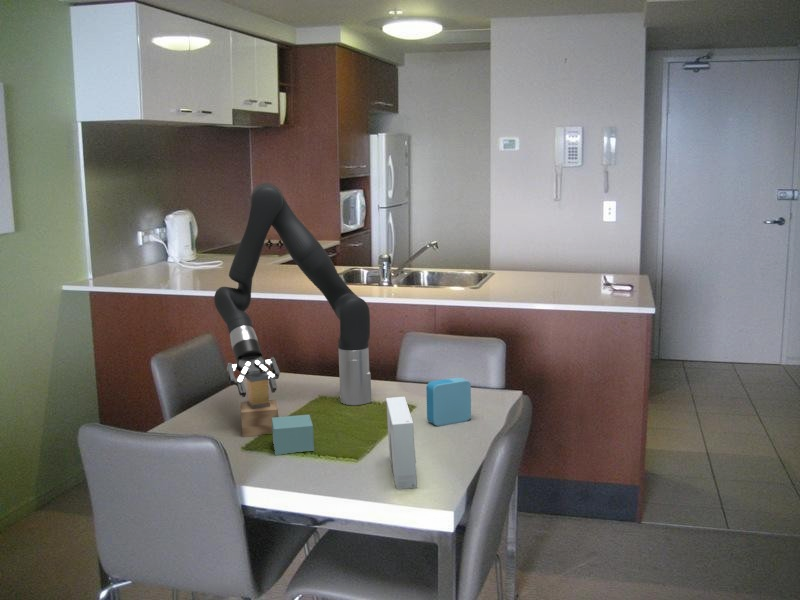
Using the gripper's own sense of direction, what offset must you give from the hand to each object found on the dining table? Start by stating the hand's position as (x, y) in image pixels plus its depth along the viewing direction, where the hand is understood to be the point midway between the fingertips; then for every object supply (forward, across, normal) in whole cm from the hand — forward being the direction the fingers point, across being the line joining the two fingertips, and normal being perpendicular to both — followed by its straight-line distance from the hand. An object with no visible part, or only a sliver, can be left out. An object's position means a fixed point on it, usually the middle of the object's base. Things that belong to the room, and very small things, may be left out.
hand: (259, 393), depth 237 cm
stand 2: (+20, +3, -4) cm, 21 cm away
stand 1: (+7, 0, +9) cm, 11 cm away
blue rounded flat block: (+21, +49, -6) cm, 54 cm away
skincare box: (+41, +20, -26) cm, 53 cm away
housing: (+2, 0, +4) cm, 4 cm away
